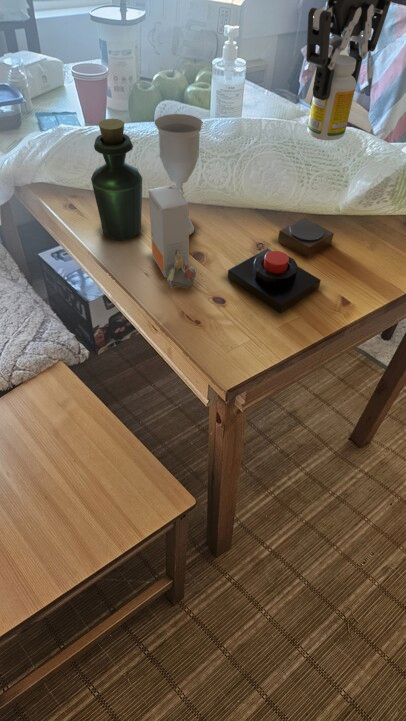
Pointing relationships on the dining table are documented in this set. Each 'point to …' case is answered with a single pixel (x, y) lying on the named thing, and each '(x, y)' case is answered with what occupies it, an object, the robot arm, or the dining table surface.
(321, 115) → the supplement bottle
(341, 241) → the dining table surface
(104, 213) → the potion bottle
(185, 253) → the cosmetic box
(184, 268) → the figurine
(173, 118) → the chalice
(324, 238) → the stand
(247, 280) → the button housing
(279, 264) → the button
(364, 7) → the robot arm
